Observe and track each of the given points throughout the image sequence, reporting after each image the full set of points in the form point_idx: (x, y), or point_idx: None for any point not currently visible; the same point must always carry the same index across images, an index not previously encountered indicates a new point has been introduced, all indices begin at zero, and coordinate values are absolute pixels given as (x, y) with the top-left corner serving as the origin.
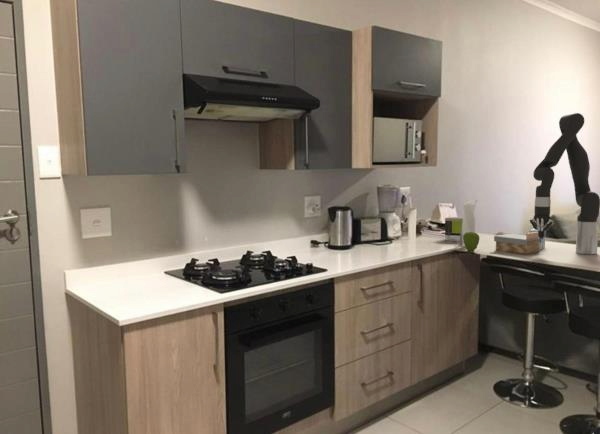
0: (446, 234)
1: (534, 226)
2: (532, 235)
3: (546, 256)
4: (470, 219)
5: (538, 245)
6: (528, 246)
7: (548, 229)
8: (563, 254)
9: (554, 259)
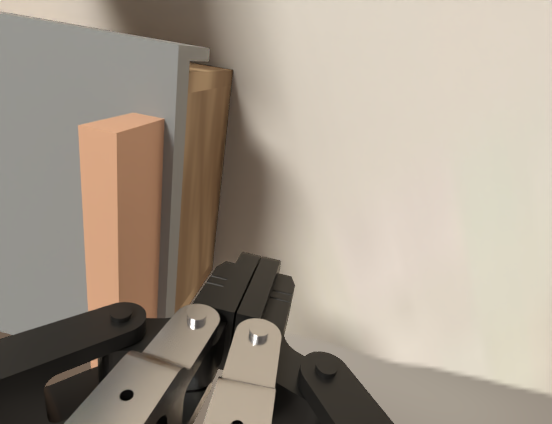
0: None
1: (77, 406)
2: (138, 281)
3: (356, 247)
4: None
5: (207, 92)
6: (188, 277)
7: (346, 373)
8: (472, 36)
9: (441, 335)
